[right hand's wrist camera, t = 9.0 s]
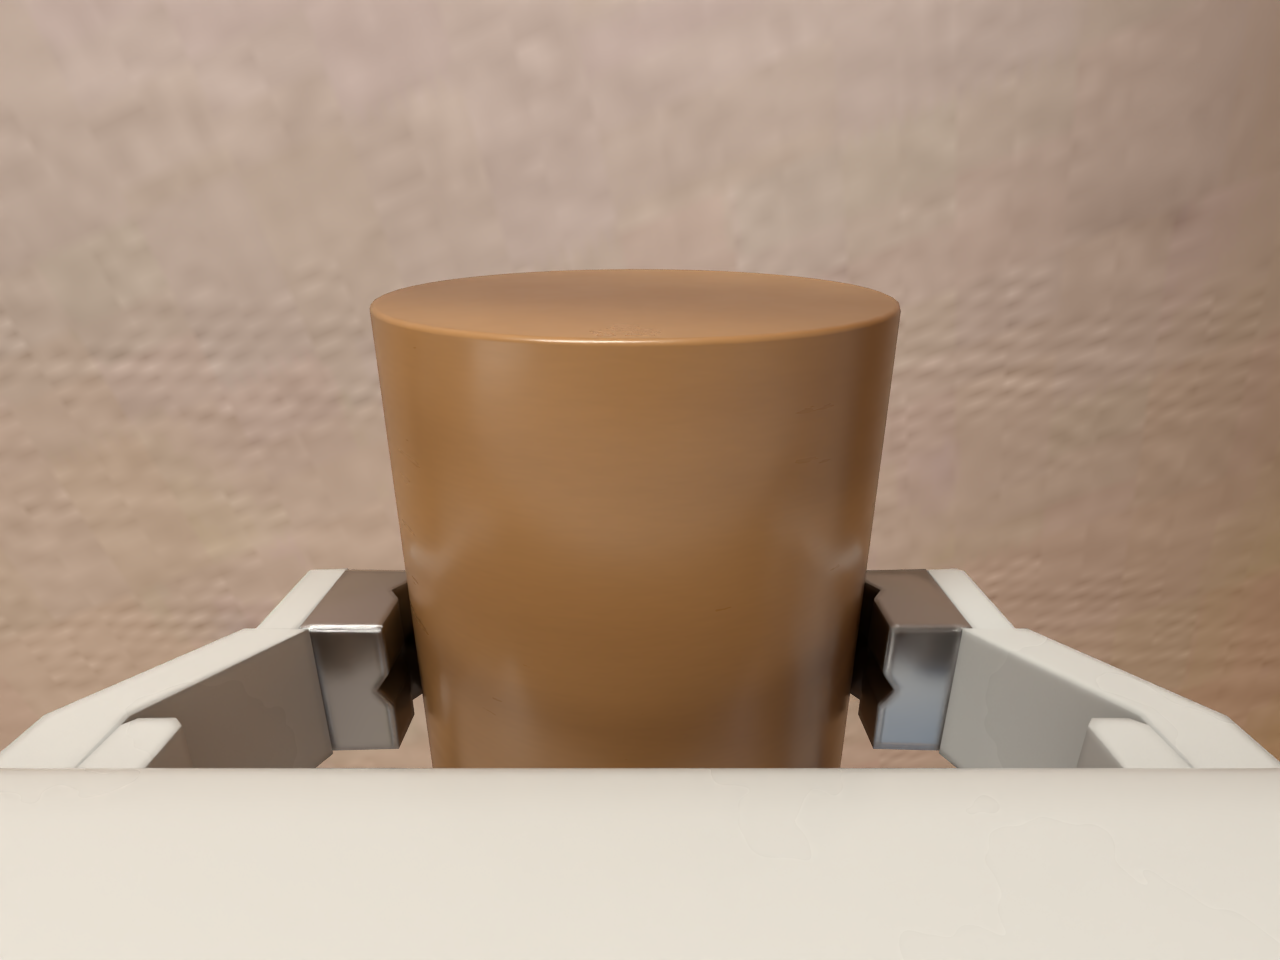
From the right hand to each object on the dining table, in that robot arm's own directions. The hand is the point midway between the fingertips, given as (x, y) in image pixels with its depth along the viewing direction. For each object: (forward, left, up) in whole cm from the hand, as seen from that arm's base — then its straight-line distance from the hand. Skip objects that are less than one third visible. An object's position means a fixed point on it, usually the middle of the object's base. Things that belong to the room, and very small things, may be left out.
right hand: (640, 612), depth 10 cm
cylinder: (+3, +6, -3) cm, 8 cm away
